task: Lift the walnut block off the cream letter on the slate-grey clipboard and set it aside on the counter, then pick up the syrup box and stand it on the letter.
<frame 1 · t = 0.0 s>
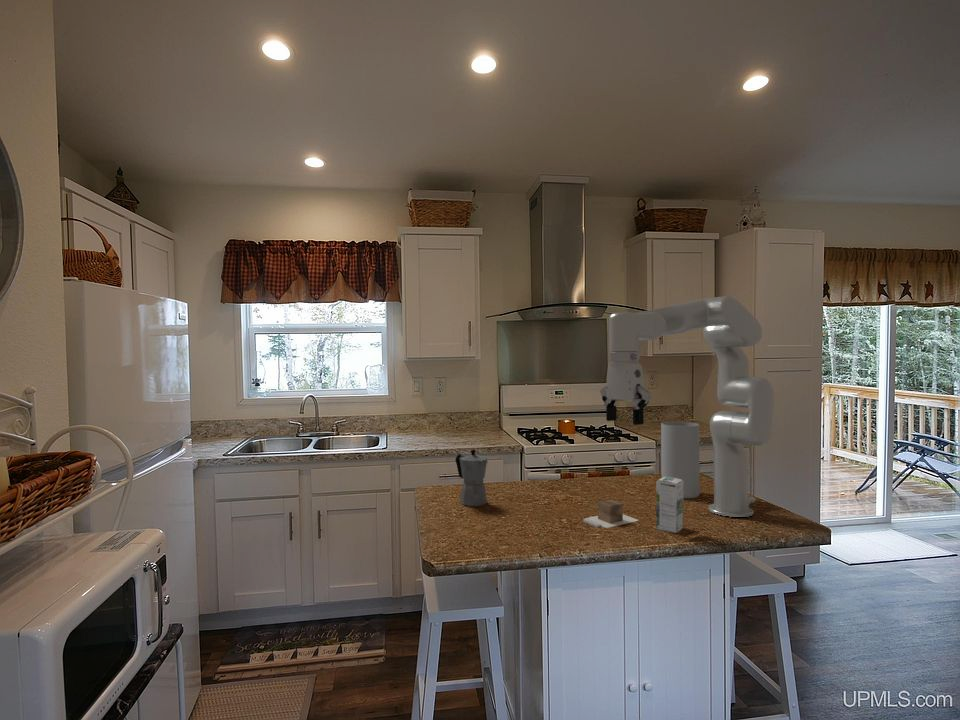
hand: (624, 422, 134), 31 cm above the counter, tool pointing down, fingers open, 9 cm apart
syrup box: (670, 531, 140), on the counter
walnut block: (610, 519, 148), point 1 cm above the counter, touching clipboard
clipboard: (610, 522, 148), on the counter
coffeepot: (471, 502, 171), on the counter
cylinder vase: (680, 495, 178), on the counter
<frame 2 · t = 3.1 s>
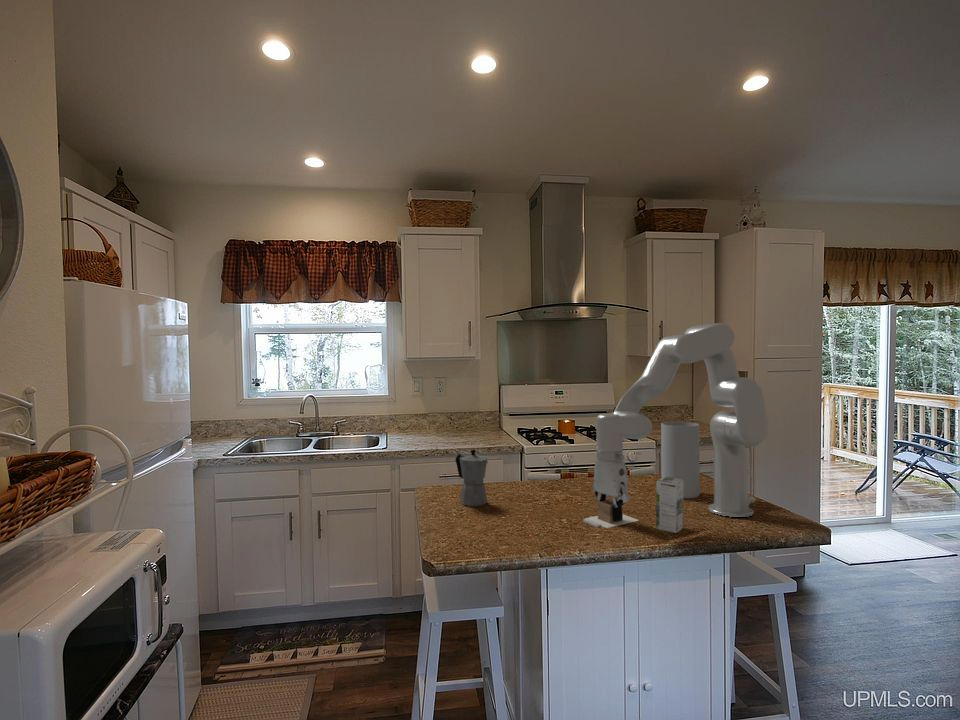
hand: (610, 516, 148), 2 cm above the counter, tool pointing down, fingers closed on walnut block, 5 cm apart
walnut block: (610, 519, 148), point 1 cm above the counter, touching clipboard, gripper
everything else where it was.
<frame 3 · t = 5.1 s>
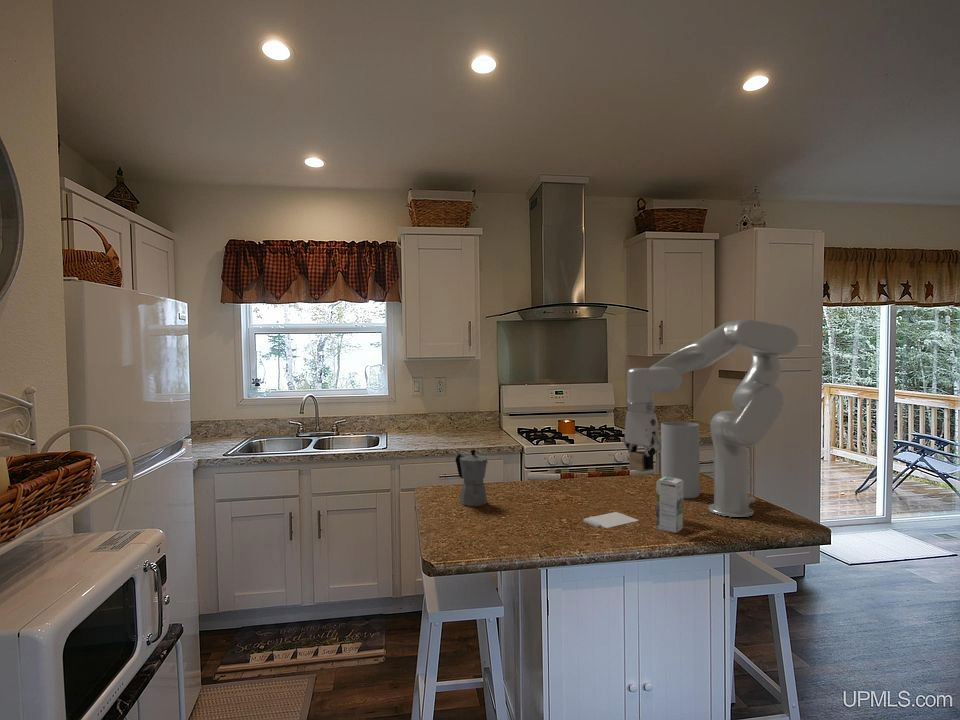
hand: (641, 466, 154), 15 cm above the counter, tool pointing down, fingers closed on walnut block, 5 cm apart
walnut block: (641, 469, 154), point 14 cm above the counter, touching gripper
everything else where it was.
when the fingers open (2 cm above the counter, at t = 7.5 s): walnut block drops 2 cm, on the counter.
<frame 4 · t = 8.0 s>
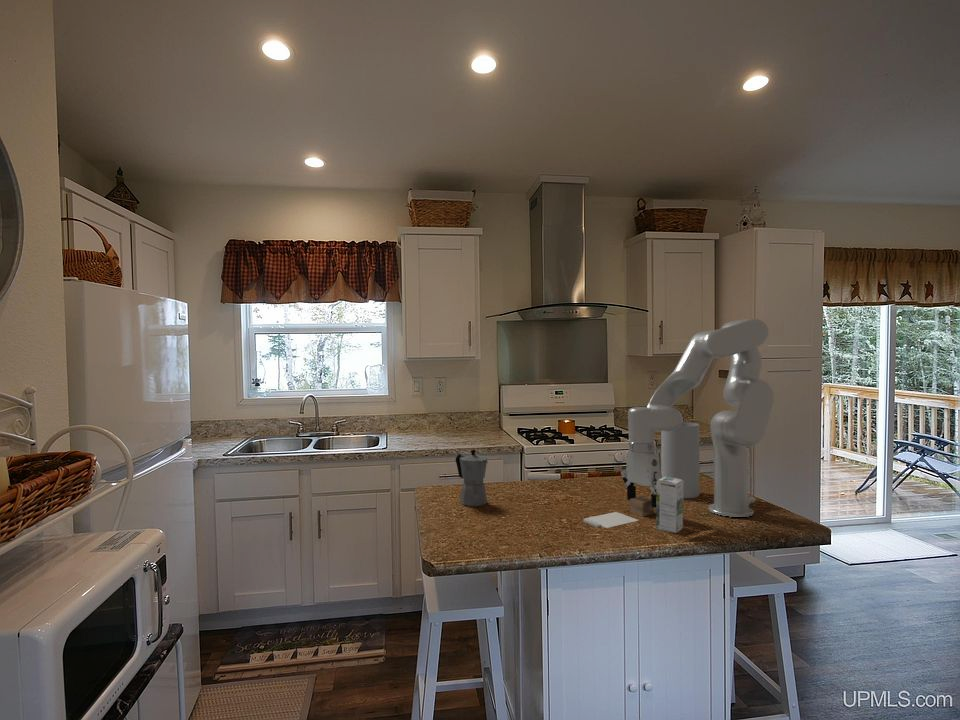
hand: (643, 503, 154), 4 cm above the counter, tool pointing down, fingers open, 9 cm apart
walnut block: (641, 515, 154), on the counter
everything else where it was.
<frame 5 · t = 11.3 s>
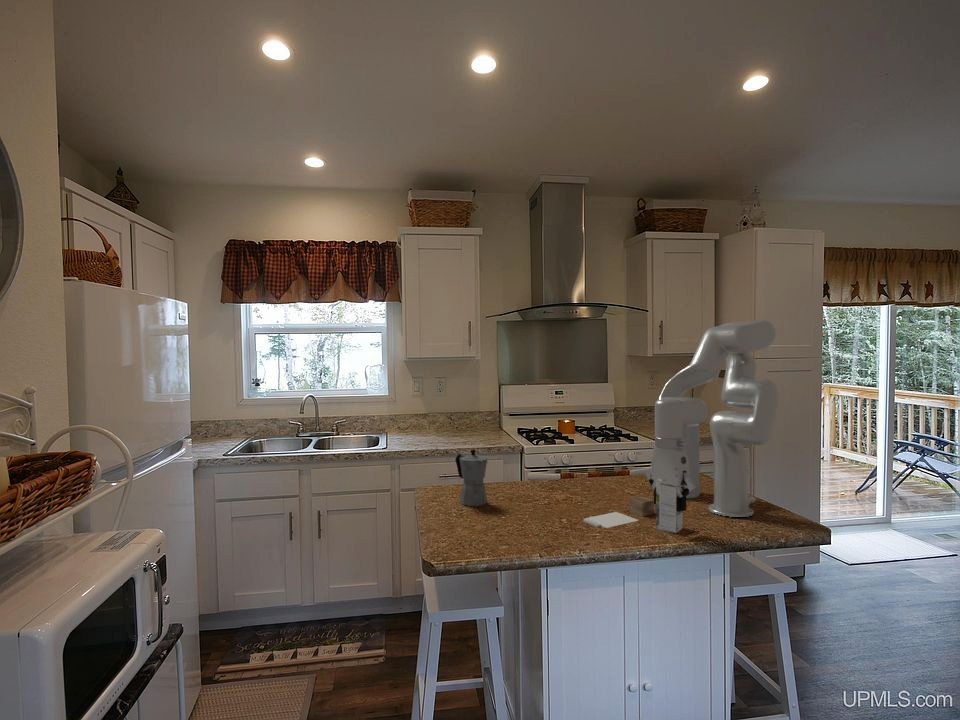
hand: (669, 506, 140), 7 cm above the counter, tool pointing down, fingers closed on syrup box, 7 cm apart
syrup box: (670, 531, 140), on the counter, touching gripper
everything else where it was.
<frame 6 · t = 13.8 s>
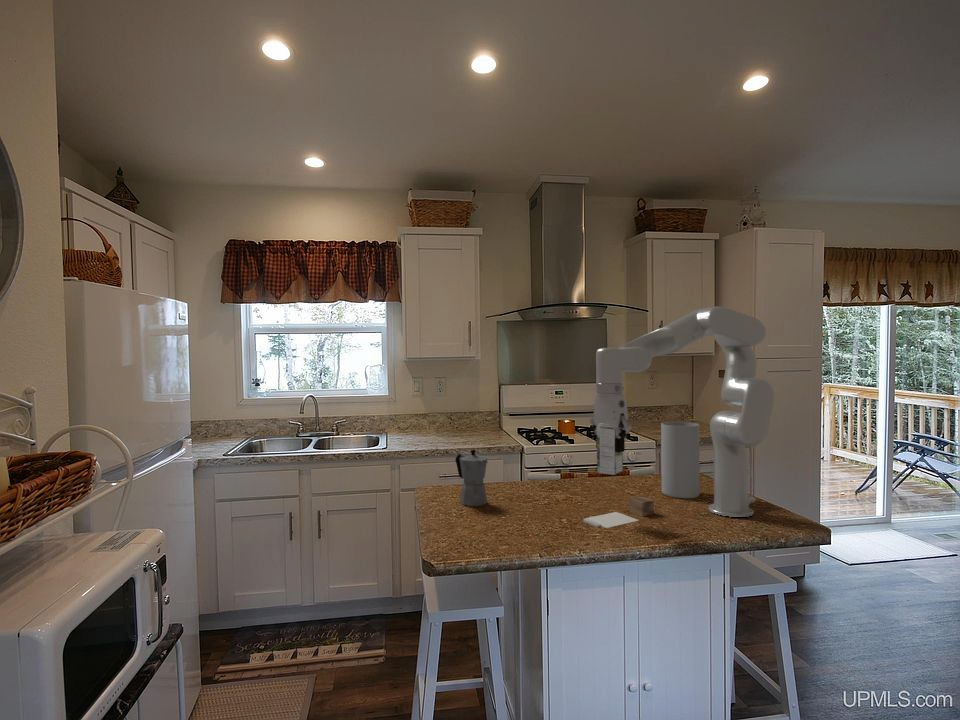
hand: (610, 449, 148), 22 cm above the counter, tool pointing down, fingers closed on syrup box, 7 cm apart
syrup box: (610, 473, 148), point 15 cm above the counter, touching gripper
everything else where it was.
when the fingers open (8 cm above the counter, at t = 16.8 s): syrup box stays where it is, resting on clipboard.
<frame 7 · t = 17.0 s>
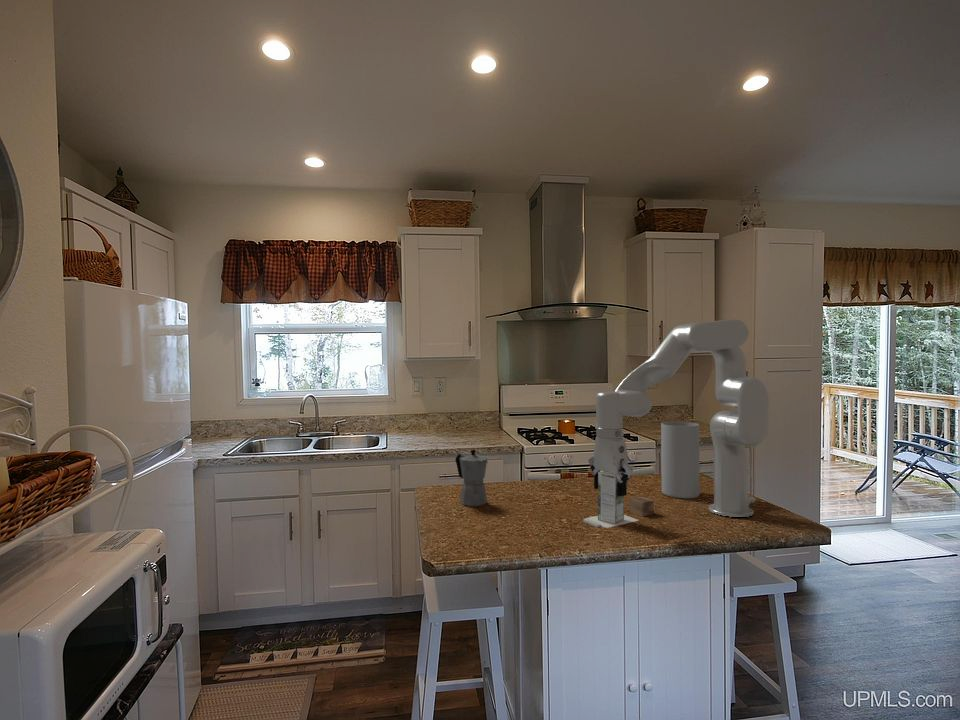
hand: (610, 491, 148), 9 cm above the counter, tool pointing down, fingers open, 9 cm apart
syrup box: (611, 520, 148), point 1 cm above the counter, touching clipboard
everything else where it was.
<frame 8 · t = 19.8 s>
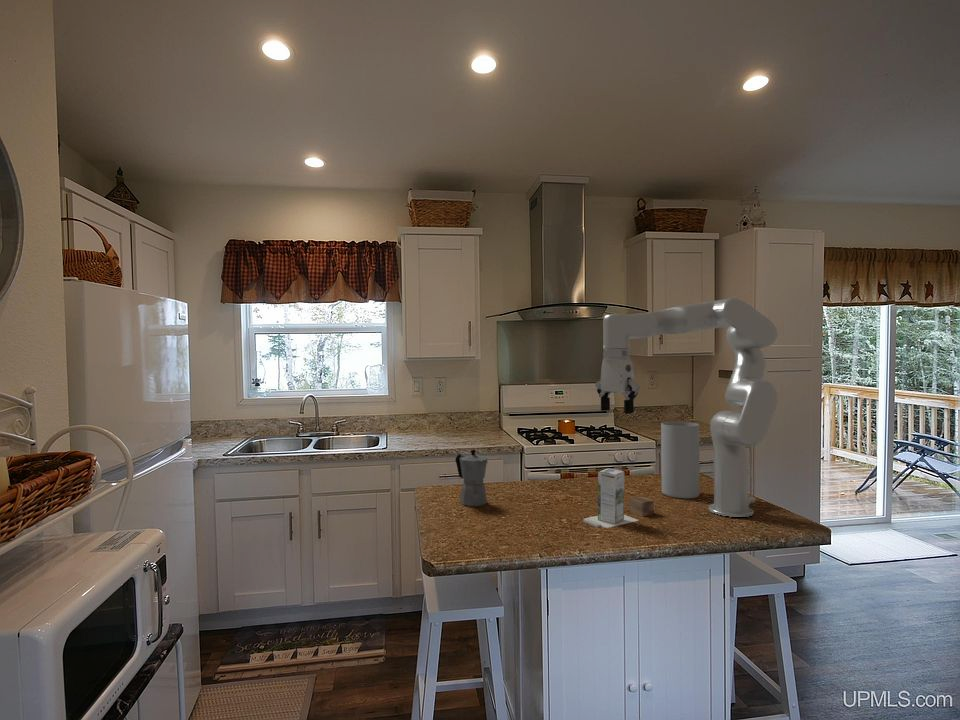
hand: (616, 411, 151), 32 cm above the counter, tool pointing down, fingers open, 9 cm apart
nothing on the counter moved.
at the end: syrup box inside the target area on the clipboard (0.3 cm from its centre), point 0.6 cm above the clipboard's base; syrup box tilted 0°; walnut block inside the target area (0.5 cm from its centre), on the counter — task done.
